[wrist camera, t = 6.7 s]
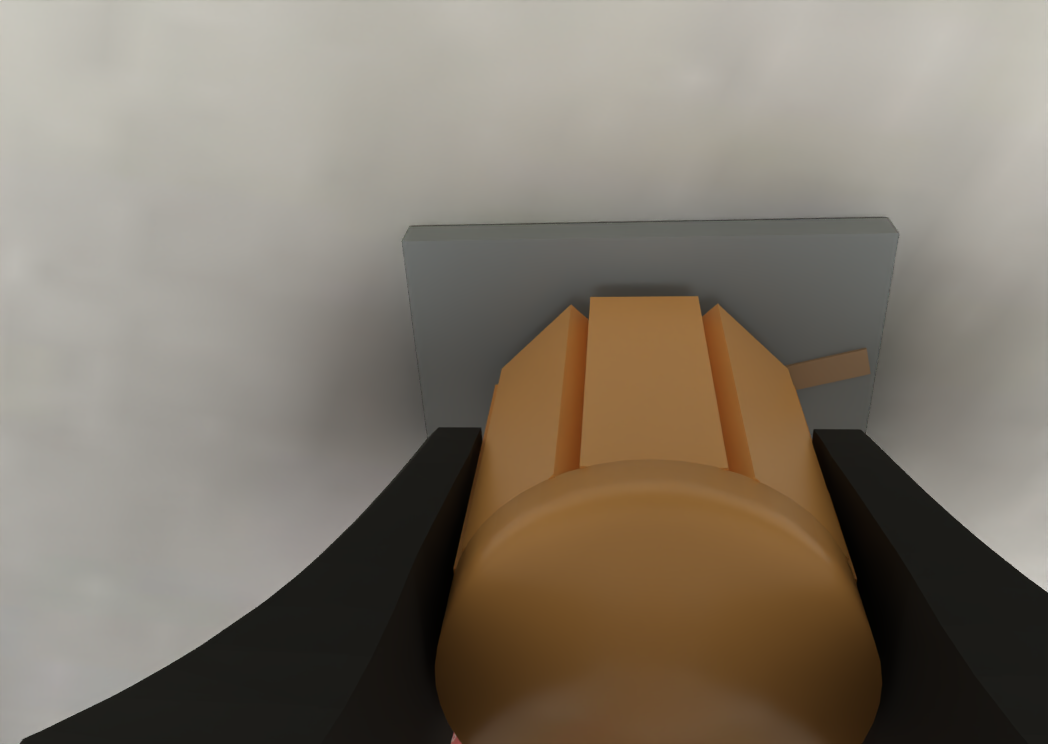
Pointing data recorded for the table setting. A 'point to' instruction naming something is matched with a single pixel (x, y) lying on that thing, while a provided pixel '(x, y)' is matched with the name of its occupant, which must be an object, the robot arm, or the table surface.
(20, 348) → the table surface
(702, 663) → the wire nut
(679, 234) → the plate
